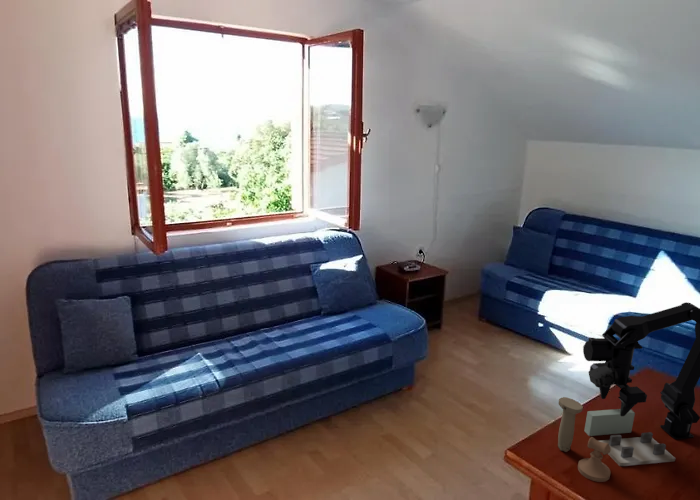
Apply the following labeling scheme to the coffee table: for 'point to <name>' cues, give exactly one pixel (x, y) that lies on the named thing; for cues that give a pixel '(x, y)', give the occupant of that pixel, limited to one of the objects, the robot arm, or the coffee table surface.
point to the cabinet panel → (637, 450)
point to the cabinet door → (608, 422)
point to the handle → (567, 422)
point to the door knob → (595, 462)
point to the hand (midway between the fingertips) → (612, 407)
